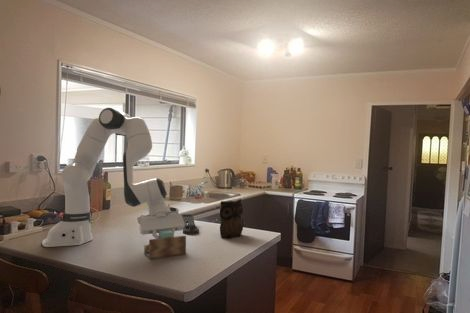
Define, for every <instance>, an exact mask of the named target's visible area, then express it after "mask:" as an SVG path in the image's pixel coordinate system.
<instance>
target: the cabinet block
mask: <svg viewBox="0 0 470 313" xmlns="http://www.w3.org/2000/svg"><path fill="white" fill-rule="evenodd" d="M158 236H160V238H168V237H173V232H172V231H171V230H162V231H159V233H158Z"/></svg>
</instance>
